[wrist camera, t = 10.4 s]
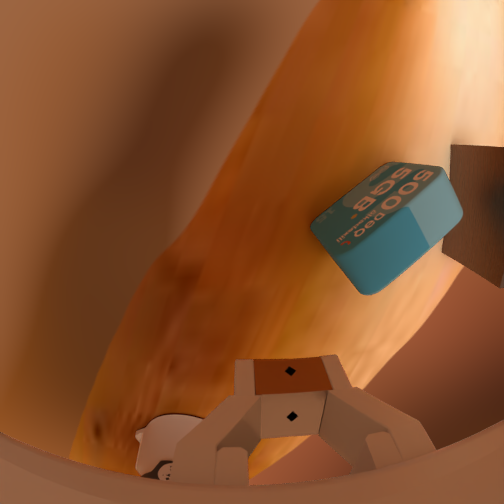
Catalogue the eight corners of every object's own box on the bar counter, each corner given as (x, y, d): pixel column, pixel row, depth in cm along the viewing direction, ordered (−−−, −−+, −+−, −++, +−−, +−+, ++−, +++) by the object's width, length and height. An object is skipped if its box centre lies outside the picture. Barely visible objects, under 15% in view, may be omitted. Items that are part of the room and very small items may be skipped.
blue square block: (387, 160, 30) (450, 166, 19) (406, 192, 31) (470, 212, 20) (306, 224, 32) (337, 261, 21) (329, 255, 33) (367, 303, 22)
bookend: (464, 251, 34) (521, 285, 22) (441, 252, 34) (499, 288, 22) (474, 150, 29) (539, 156, 18) (450, 144, 29) (518, 148, 18)
